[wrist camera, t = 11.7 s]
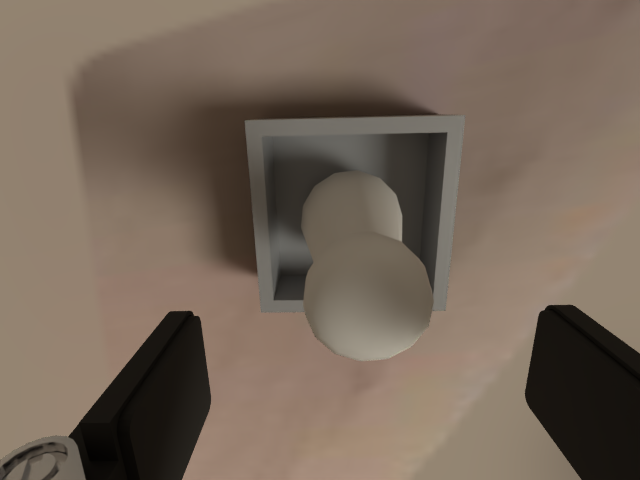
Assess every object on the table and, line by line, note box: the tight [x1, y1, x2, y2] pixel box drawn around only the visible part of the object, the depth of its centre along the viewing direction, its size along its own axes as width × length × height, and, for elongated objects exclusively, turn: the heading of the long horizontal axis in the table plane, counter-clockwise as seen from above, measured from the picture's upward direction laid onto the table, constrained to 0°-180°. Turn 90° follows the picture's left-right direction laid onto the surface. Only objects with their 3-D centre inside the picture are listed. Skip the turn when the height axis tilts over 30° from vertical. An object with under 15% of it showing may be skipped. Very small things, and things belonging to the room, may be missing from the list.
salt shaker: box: [301, 170, 434, 361], centre depth 17 cm, size 6×6×13 cm
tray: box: [245, 114, 465, 312], centre depth 22 cm, size 11×11×4 cm
